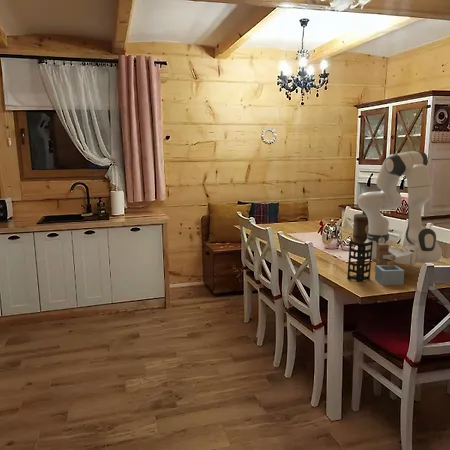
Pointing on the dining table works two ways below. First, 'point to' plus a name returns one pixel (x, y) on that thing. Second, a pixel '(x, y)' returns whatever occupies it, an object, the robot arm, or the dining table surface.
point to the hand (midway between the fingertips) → (380, 255)
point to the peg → (381, 253)
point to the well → (389, 275)
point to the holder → (359, 261)
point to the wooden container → (360, 227)
